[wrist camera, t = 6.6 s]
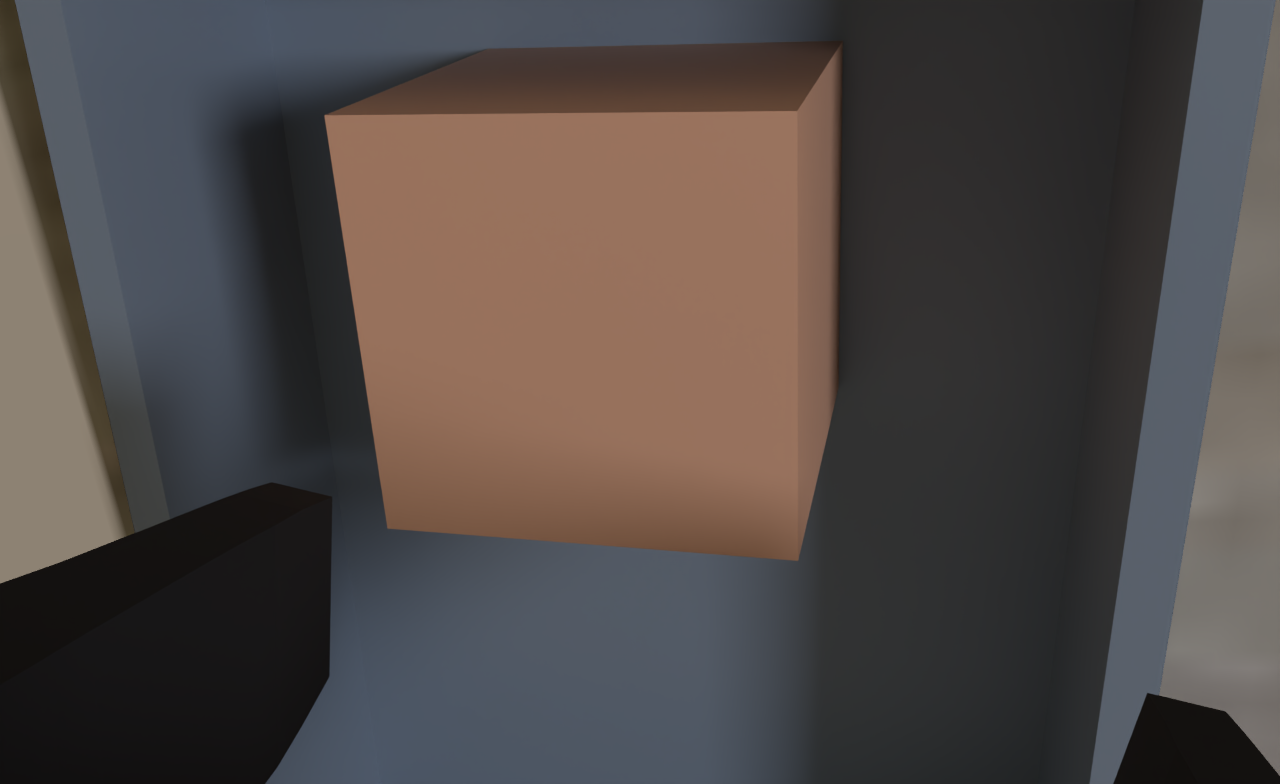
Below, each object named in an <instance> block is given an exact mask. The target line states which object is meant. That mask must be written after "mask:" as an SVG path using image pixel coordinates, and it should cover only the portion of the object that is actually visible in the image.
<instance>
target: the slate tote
mask: <svg viewBox="0 0 1280 784" xmlns="http://www.w3.org/2000/svg"><path fill="white" fill-rule="evenodd" d="M1275 1H1276V0H15V3H16V8H17V12H18V17H19V21H20V26H21V30H22V34H23V39H24V43H25V48H26V52H27V57H28V61H29V65H30V70H31V74H32V79H33V83H34V88H35V92H36V96H37V101H38V105H39V110H40V114H41V119H42V123H43V128H44V132H45V136H46V141H47V145H48V150H49V154H50V159H51V163H52V167H53V172H54V176H55V181H56V185H57V190H58V194H59V198H60V203H61V207H62V212H63V216H64V221H65V225H66V229H67V234H68V238H69V243H70V247H71V252H72V256H73V260H74V265H75V269H76V274H77V278H78V283H79V287H80V291H81V296H82V300H83V305H84V309H85V314H86V318H87V322H88V327H89V331H90V336H91V340H92V345H93V349H94V353H95V358H96V362H97V367H98V371H99V376H100V380H101V385H102V389H103V393H104V398H105V402H106V407H107V411H108V416H109V420H110V424H111V429H112V433H113V438H114V442H115V447H116V451H117V455H118V460H119V464H120V469H121V473H122V478H123V482H124V486H125V491H126V495H127V500H128V504H129V509H130V513H131V517H132V522H133V526H134V531H135V533H136V532H139V531H142V530H144V529H147V528H149V527H152V526H154V525H157V524H159V523H162V522H164V521H167V520H169V519H172V518H174V517H177V516H179V515H182V514H184V513H187V512H189V511H192V510H194V509H197V508H199V507H202V506H205V505H207V504H210V503H212V502H215V501H218V500H220V499H223V498H226V497H228V496H231V495H234V494H236V493H239V492H242V491H245V490H248V489H251V488H254V487H257V486H261V485H264V484H267V483H271V482H273V483H278V484H282V485H286V486H290V487H294V488H298V489H303V490H307V491H311V492H315V493H319V494H323V495H327V496H332V553H331V617H330V677H329V679H328V680H327V682H326V684H325V686H324V688H323V689H322V691H321V693H320V695H319V697H318V698H317V700H316V702H315V704H314V706H313V707H312V709H311V711H310V713H309V715H308V716H307V718H306V720H305V722H304V724H303V725H302V727H301V729H300V730H299V732H298V734H297V735H296V737H295V739H294V740H293V742H292V744H291V745H290V747H289V749H288V750H287V752H286V754H285V756H284V757H283V759H282V761H281V762H280V764H279V766H278V767H277V769H276V770H275V771H274V773H273V774H272V775H271V777H270V778H269V779H268V781H267V782H266V783H265V784H1113V783H1114V780H1115V778H1116V775H1117V772H1118V770H1119V767H1120V764H1121V762H1122V759H1123V756H1124V754H1125V751H1126V748H1127V746H1128V743H1129V740H1130V738H1131V735H1132V732H1133V729H1134V727H1135V724H1136V721H1137V719H1138V716H1139V713H1140V711H1141V708H1142V705H1143V703H1144V700H1145V697H1146V695H1147V693H1150V694H1154V695H1159V692H1160V686H1161V680H1162V674H1163V668H1164V662H1165V656H1166V650H1167V644H1168V638H1169V632H1170V626H1171V620H1172V614H1173V608H1174V602H1175V596H1176V590H1177V584H1178V578H1179V573H1180V567H1181V561H1182V555H1183V549H1184V543H1185V537H1186V531H1187V525H1188V519H1189V513H1190V507H1191V501H1192V495H1193V489H1194V483H1195V477H1196V471H1197V465H1198V459H1199V453H1200V447H1201V441H1202V436H1203V430H1204V424H1205V418H1206V412H1207V406H1208V400H1209V394H1210V388H1211V382H1212V376H1213V370H1214V364H1215V358H1216V352H1217V346H1218V340H1219V334H1220V328H1221V322H1222V316H1223V310H1224V304H1225V299H1226V293H1227V287H1228V281H1229V275H1230V269H1231V263H1232V257H1233V251H1234V245H1235V239H1236V233H1237V227H1238V221H1239V215H1240V209H1241V203H1242V197H1243V191H1244V185H1245V179H1246V173H1247V167H1248V162H1249V156H1250V150H1251V144H1252V138H1253V132H1254V126H1255V120H1256V114H1257V108H1258V102H1259V96H1260V90H1261V84H1262V78H1263V72H1264V66H1265V60H1266V54H1267V48H1268V42H1269V36H1270V30H1271V25H1272V19H1273V13H1274V7H1275ZM807 41H843V74H842V153H841V232H840V311H839V388H838V392H837V396H836V401H835V405H834V409H833V413H832V418H831V422H830V426H829V431H828V435H827V439H826V443H825V448H824V452H823V456H822V461H821V465H820V469H819V473H818V478H817V482H816V486H815V491H814V495H813V499H812V503H811V508H810V512H809V516H808V521H807V525H806V529H805V533H804V538H803V542H802V546H801V551H800V555H799V559H798V561H793V560H781V559H768V558H755V557H742V556H730V555H717V554H704V553H692V552H679V551H666V550H654V549H641V548H628V547H615V546H603V545H590V544H577V543H565V542H552V541H539V540H527V539H514V538H501V537H488V536H476V535H463V534H450V533H438V532H425V531H412V530H400V529H388V528H387V521H386V515H385V508H384V502H383V495H382V489H381V482H380V476H379V469H378V463H377V456H376V450H375V443H374V436H373V430H372V423H371V417H370V410H369V404H368V397H367V391H366V384H365V378H364V371H363V365H362V358H361V351H360V345H359V338H358V332H357V325H356V319H355V312H354V306H353V299H352V293H351V286H350V279H349V273H348V266H347V260H346V253H345V247H344V240H343V234H342V227H341V221H340V214H339V208H338V201H337V194H336V188H335V181H334V175H333V168H332V162H331V155H330V149H329V142H328V136H327V129H326V122H325V116H324V115H326V114H329V113H331V112H334V111H336V110H339V109H341V108H344V107H346V106H349V105H351V104H353V103H356V102H358V101H361V100H363V99H366V98H368V97H371V96H373V95H376V94H378V93H381V92H383V91H385V90H388V89H390V88H393V87H395V86H398V85H400V84H403V83H405V82H408V81H410V80H413V79H415V78H417V77H420V76H422V75H425V74H427V73H430V72H432V71H435V70H437V69H440V68H442V67H445V66H447V65H449V64H452V63H454V62H457V61H459V60H462V59H464V58H467V57H469V56H472V55H474V54H477V53H479V52H481V51H484V50H486V49H497V48H542V47H586V46H630V45H674V44H719V43H763V42H807Z"/></svg>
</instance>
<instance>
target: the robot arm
mask: <svg viewBox="0 0 1280 784" xmlns="http://www.w3.org/2000/svg"><path fill="white" fill-rule="evenodd" d="M331 553H332V496H327V495H323V494H319V493H315V492H311V491H307V490H303V489H298V488H294V487H290V486H286V485H282V484H278V483H273V482H271V483H267V484H264V485H261V486H257V487H254V488H251V489H248V490H245V491H242V492H239V493H236V494H234V495H231V496H228V497H226V498H223V499H220V500H218V501H215V502H212V503H210V504H207V505H205V506H202V507H199V508H197V509H194V510H192V511H189V512H187V513H184V514H182V515H179V516H177V517H174V518H172V519H169V520H167V521H164V522H162V523H159V524H157V525H154V526H152V527H149V528H147V529H144V530H142V531H139V532H136V533H134V534H131V535H129V536H126V537H124V538H121V539H119V540H116V541H114V542H111V543H108V544H106V545H103V546H101V547H99V548H96V549H93V550H91V551H88V552H86V553H83V554H80V555H78V556H75V557H73V558H70V559H68V560H65V561H63V562H60V563H57V564H54V565H52V566H49V567H46V568H43V569H40V570H37V571H35V572H32V573H29V574H26V575H23V576H21V577H18V578H15V579H12V580H9V581H6V582H4V583H1V584H0V784H265V783H266V782H267V781H268V779H269V778H270V777H271V775H272V774H273V773H274V771H275V770H276V769H277V767H278V766H279V764H280V762H281V761H282V759H283V757H284V756H285V754H286V752H287V750H288V749H289V747H290V745H291V744H292V742H293V740H294V739H295V737H296V735H297V734H298V732H299V730H300V729H301V727H302V725H303V724H304V722H305V720H306V718H307V716H308V715H309V713H310V711H311V709H312V707H313V706H314V704H315V702H316V700H317V698H318V697H319V695H320V693H321V691H322V689H323V688H324V686H325V684H326V682H327V680H328V679H329V677H330V617H331ZM1113 784H1280V776H1279V775H1278V773H1277V772H1276V771H1275V770H1274V769H1273V767H1272V766H1271V765H1270V764H1269V762H1268V761H1267V760H1266V759H1265V757H1264V756H1263V755H1262V754H1261V752H1260V751H1259V750H1258V749H1257V748H1256V746H1255V745H1254V744H1253V743H1252V741H1251V740H1250V739H1249V738H1248V737H1247V736H1246V734H1245V733H1244V732H1243V731H1242V730H1241V728H1240V727H1239V726H1238V725H1237V724H1236V723H1235V722H1234V720H1233V719H1232V718H1231V717H1230V716H1229V715H1228V714H1227V713H1226V712H1225V711H1221V710H1217V709H1213V708H1208V707H1204V706H1200V705H1196V704H1192V703H1188V702H1183V701H1179V700H1175V699H1171V698H1167V697H1163V696H1159V695H1154V694H1150V693H1147V695H1146V697H1145V700H1144V703H1143V705H1142V708H1141V711H1140V713H1139V716H1138V719H1137V721H1136V724H1135V727H1134V729H1133V732H1132V735H1131V738H1130V740H1129V743H1128V746H1127V748H1126V751H1125V754H1124V756H1123V759H1122V762H1121V764H1120V767H1119V770H1118V772H1117V775H1116V778H1115V780H1114V783H1113Z"/></svg>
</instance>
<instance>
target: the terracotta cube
mask: <svg viewBox="0 0 1280 784" xmlns="http://www.w3.org/2000/svg"><path fill="white" fill-rule="evenodd" d="M842 74H843V41H807V42H763V43H719V44H674V45H630V46H586V47H542V48H497V49H486V50H484V51H481V52H479V53H477V54H474V55H472V56H469V57H467V58H464V59H462V60H459V61H457V62H454V63H452V64H449V65H447V66H445V67H442V68H440V69H437V70H435V71H432V72H430V73H427V74H425V75H422V76H420V77H417V78H415V79H413V80H410V81H408V82H405V83H403V84H400V85H398V86H395V87H393V88H390V89H388V90H385V91H383V92H381V93H378V94H376V95H373V96H371V97H368V98H366V99H363V100H361V101H358V102H356V103H353V104H351V105H349V106H346V107H344V108H341V109H339V110H336V111H334V112H331V113H329V114H326V115H324V116H325V122H326V129H327V136H328V142H329V149H330V155H331V162H332V168H333V175H334V181H335V188H336V194H337V201H338V208H339V214H340V221H341V227H342V234H343V240H344V247H345V253H346V260H347V266H348V273H349V279H350V286H351V293H352V299H353V306H354V312H355V319H356V325H357V332H358V338H359V345H360V351H361V358H362V365H363V371H364V378H365V384H366V391H367V397H368V404H369V410H370V417H371V423H372V430H373V436H374V443H375V450H376V456H377V463H378V469H379V476H380V482H381V489H382V495H383V502H384V508H385V515H386V521H387V528H388V529H400V530H412V531H425V532H438V533H450V534H463V535H476V536H488V537H501V538H514V539H527V540H539V541H552V542H565V543H577V544H590V545H603V546H615V547H628V548H641V549H654V550H666V551H679V552H692V553H704V554H717V555H730V556H742V557H755V558H768V559H781V560H793V561H798V559H799V555H800V551H801V546H802V542H803V538H804V533H805V529H806V525H807V521H808V516H809V512H810V508H811V503H812V499H813V495H814V491H815V486H816V482H817V478H818V473H819V469H820V465H821V461H822V456H823V452H824V448H825V443H826V439H827V435H828V431H829V426H830V422H831V418H832V413H833V409H834V405H835V401H836V396H837V392H838V388H839V311H840V232H841V153H842Z"/></svg>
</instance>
